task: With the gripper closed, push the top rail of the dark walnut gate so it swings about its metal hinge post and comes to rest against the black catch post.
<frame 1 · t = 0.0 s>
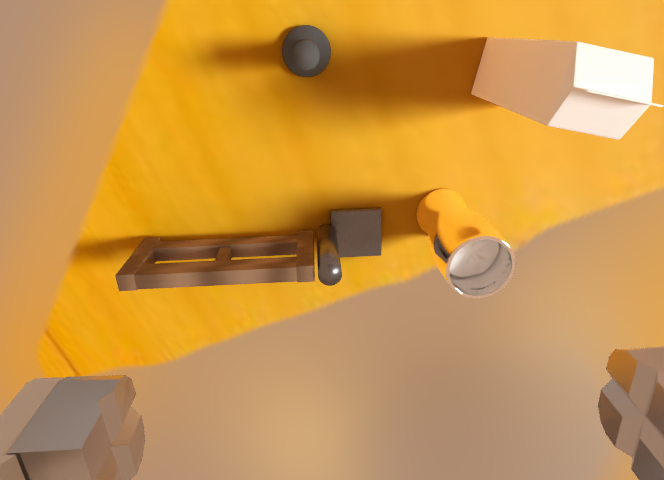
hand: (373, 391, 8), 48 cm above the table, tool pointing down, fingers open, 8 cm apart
beer glass: (440, 211, 59), on the table
milk: (503, 71, 53), on the table
hinge post: (326, 233, 59), on the table
gate: (224, 261, 54), point 6 cm above the table, hinge at 0.0°
catch post: (306, 51, 51), on the table
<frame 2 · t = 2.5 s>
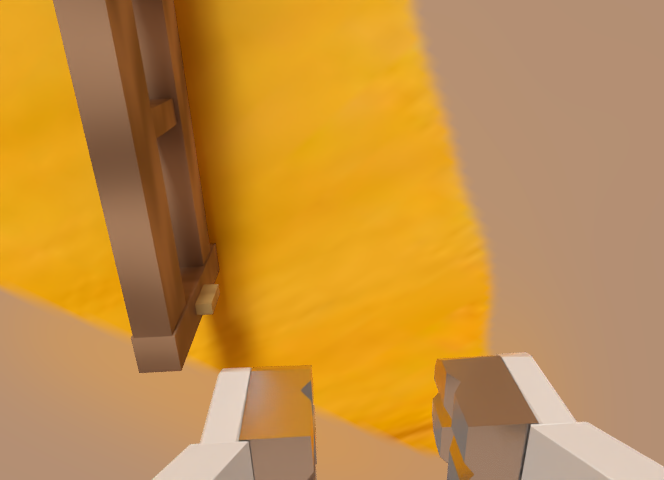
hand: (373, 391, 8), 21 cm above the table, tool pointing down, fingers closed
gate: (160, 117, 21), point 6 cm above the table, hinge at 0.0°
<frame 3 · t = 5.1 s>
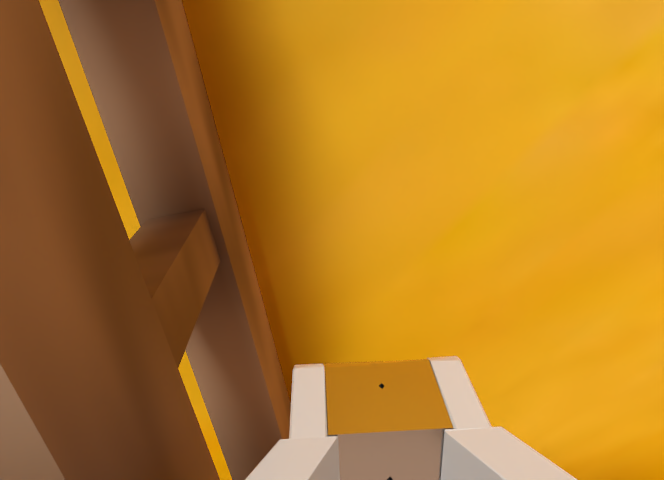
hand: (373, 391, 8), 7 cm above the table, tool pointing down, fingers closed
gate: (183, 276, 9), point 6 cm above the table, hinge at 0.2°, touching gripper
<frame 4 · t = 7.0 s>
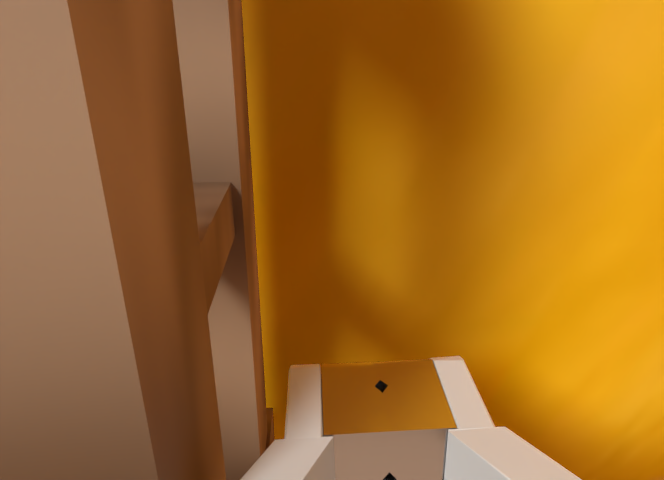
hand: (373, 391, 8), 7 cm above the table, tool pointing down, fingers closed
gate: (208, 242, 9), point 6 cm above the table, hinge at 32.3°, touching gripper
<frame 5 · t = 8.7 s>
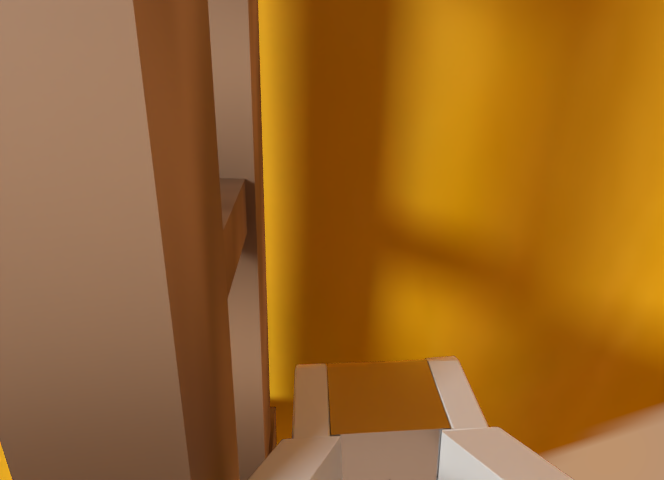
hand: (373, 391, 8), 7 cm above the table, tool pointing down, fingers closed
gate: (223, 237, 9), point 6 cm above the table, hinge at 60.2°, touching gripper
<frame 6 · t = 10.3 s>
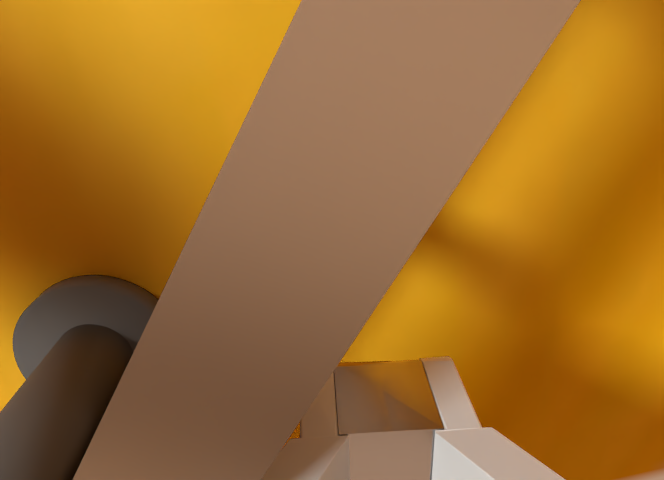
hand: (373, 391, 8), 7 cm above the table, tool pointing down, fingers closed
gate: (293, 199, 9), point 6 cm above the table, hinge at 80.6°, touching catch post, gripper
catch post: (105, 341, 16), on the table
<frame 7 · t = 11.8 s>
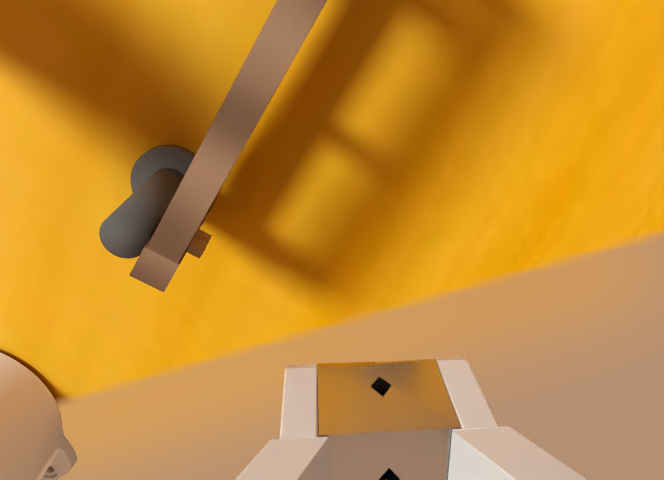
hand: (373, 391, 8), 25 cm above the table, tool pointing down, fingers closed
gate: (263, 95, 25), point 6 cm above the table, hinge at 80.6°, touching catch post
catch post: (173, 181, 32), on the table
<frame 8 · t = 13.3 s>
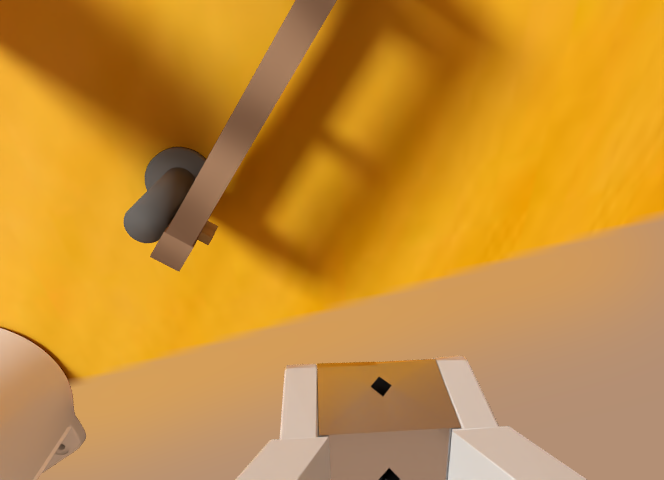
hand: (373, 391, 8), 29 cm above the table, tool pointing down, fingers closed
gate: (265, 104, 29), point 6 cm above the table, hinge at 80.6°, touching catch post
catch post: (182, 179, 36), on the table
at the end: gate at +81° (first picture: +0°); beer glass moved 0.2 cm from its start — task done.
